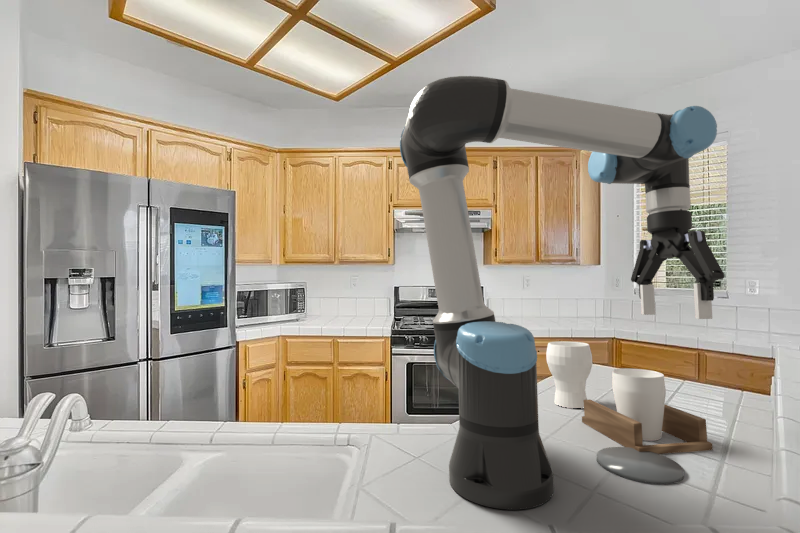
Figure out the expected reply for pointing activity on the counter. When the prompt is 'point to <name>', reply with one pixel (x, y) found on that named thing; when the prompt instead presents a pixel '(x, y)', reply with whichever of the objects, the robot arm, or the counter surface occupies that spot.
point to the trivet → (640, 465)
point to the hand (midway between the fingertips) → (673, 316)
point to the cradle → (631, 430)
